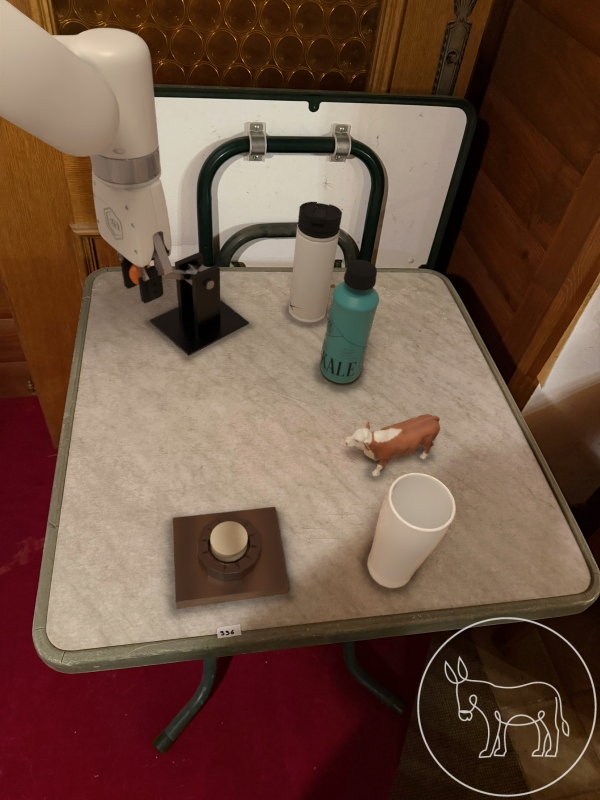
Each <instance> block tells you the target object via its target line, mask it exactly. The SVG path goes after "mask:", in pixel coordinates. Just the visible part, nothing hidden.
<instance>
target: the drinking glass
mask: <svg viewBox="0 0 600 800" xmlns="http://www.w3.org/2000/svg"><path fill="white" fill-rule="evenodd" d="M456 510H457V509H456V501H455V498H454V496H453V493H452V491H451V490H450V489H449V487H447V485H445V484H444V483H443V482H442V481H441V480H440V479H438V478H437V477H435V476H432V475H430V474H427V473H422V472H408V473H405V474H402V475H400V476H399V477H397V478H396V479H395V480H393V482H392V483H391V485H390V486H389V489H388V490H387V493H386V495H385V497H384V500H383V502H382V505H381V507H380V510H379V514H378V518H377V523H376V527H375V531H374V536H373V539H372V544H371V547H370V552H369V554H368V557H367V561H366V563H367V570H368V573H369V575H370V577H371V578H372V579H373V580H374V581H375V582H376V583H377V584H378V585H380V586H382V587H385V588H388V589H397V588H401V587H404V586H405V585H406V584H408V582H409V581H410V580H412V579H411V578H412V577H413V575H414V574H415V573H416V572H417V570H418V569H419V568H420V567H421V565H422V564H424V562H425V561H426V560H427V558H428V557H429V556H430V555H431V554H432V552H434V551H435V549H436V548H437V547H438V545H440V543H441V541H443V539H444V537H445V536H446V534H447V532H448V530H449V528H450V526H451V524H452V522H453V521H454V518H455V516H456Z"/></svg>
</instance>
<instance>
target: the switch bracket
mask: <svg viewBox="0 0 600 800" xmlns="http://www.w3.org/2000/svg"><path fill="white" fill-rule="evenodd" d="M188 264H197V265H204V255H203V254H202V253H201V252H200V251H198V252H196V253H194V254H191V255H189V256H186V257H183V258H181V259H179V260H176V261H175V262H174V270H187V267H188ZM207 268H208V269H206V270H203V271H201V272H199V273H197V274H194V275H192V285H191V284H190V283H188V282H187V281H186V280H175V283H176V296H177V306H176V307H173V308H172V309H169V310H168V311H166V312H164V313H161V314H160V315H157V316H155V317H153V318H150V319H149V322H150V323H151V324H152V325H153V326H154V327H155V328H156V329H157V330H158V331H159V332H161V333H162V334H163V336H165V337H166V338H167V339H169V340H170V341H171V342H172V343H173V344H174V345H175V346H177V348H179V349H180V350H181V351H182V352H183V353H184V354H185V355H186V356H187V357H190V356H191V355H193V354H195V353H197V352H199V351H201V350H203V349H205V348H207V347H209V346H210V345H212V344H214V343H216V342H218V341H220V340H221V339H223V338H226V337H227V336H228V335H231V334H233V333H234V332H236V331H238V330H240V329H242V328H244V327H246V326H248V325H250V321H248V320H247V319H246V318H244V316H242V315H240V313H238V312H237V311H236V310H234V309H233V308H232V307H231V306H229V305H228V304H227V303H225V302H224V301H223V300H222V299H221V267H219V266H218V265H217V264H215V265H213V266H210V267H207Z"/></svg>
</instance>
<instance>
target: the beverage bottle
mask: <svg viewBox="0 0 600 800" xmlns="http://www.w3.org/2000/svg"><path fill="white" fill-rule="evenodd" d="M377 275H378V270H377V267H376V266H375V264H373V263H372V262H370V261H368V260H364V259H355V260H351V261H350V262H349V263H348V264H347V265H346V269H345V272H344V274H343V281H342V282H340V283H338V284H337V285H336V286H335V287H334V288H333V291H332V299H331V304H330V305H329V310H328V313H327V314H328V316H327V320H326V330H325V334H324V337H323V338H324V339H323V342H322V348H321V350H322V351H321V352H320V362H319V368H320V371H321V373H322V376H324V377H325V378H326V379H327V380H330V381H331V382H334V383H337V384H347V383H351V382H354V381H355V380H356V379H357V378H359V376H360V375H361V372H362V369H363V367H364V360H365V359H366V358H365V357H366V354H367V353H366V352H367V348H369V346H368V344H369V338H370V336H371V331H372V328H373V324H374V320H375V316H376V312H377V308H378V305H379V304H380V303H379V302H380V295H379V293H378V292H377V290H376V289H375V286H376V283H377Z"/></svg>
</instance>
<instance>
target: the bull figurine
mask: <svg viewBox="0 0 600 800" xmlns="http://www.w3.org/2000/svg"><path fill="white" fill-rule="evenodd" d="M365 424H366V425H365V427H360V428H357V429H356V430H354V432H353V433H352V434H351V435H348V436H346V437H345V439H344V440H345V445H346V446H347V447H349V448H353V447H355V448H357V449H359V450H362V451H363V454H364V455H365V456H366V457H368V458H369V459H372V460H373V461H375V462H377V461H379V462H377V464H376V468H375V469H374V470H373V471H372V472H371V475H372V477H373V476H374V477H378V476H380V475H381V470H383V469H384V468H385V466H386V464H388V463H389V462H390V460H391V459H393V457H399V456H406V455H410V454H412V453H414V452H416V450H417V449H419V447H420V446H423V448H424V449H423V450H422V452H421V453H419V458H420V459H422V460H425V459H426V458H427V457H429V452H430V450H431V448H433V446H434V441H435V440H436V438H437V436H438V435H439V433H440V431H441V424H440V417H439V416H437V415H432V414H430V413H427V414H421V415H418V416H416V417H411V418H409V419H406V420H403V421H401V422H400V421H399V422H397V423H394V424H392V425H387V426H385V427H382V428H380V429H377V430H375V431H370V430H371V425H370V421H367V422H366V423H365Z"/></svg>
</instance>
